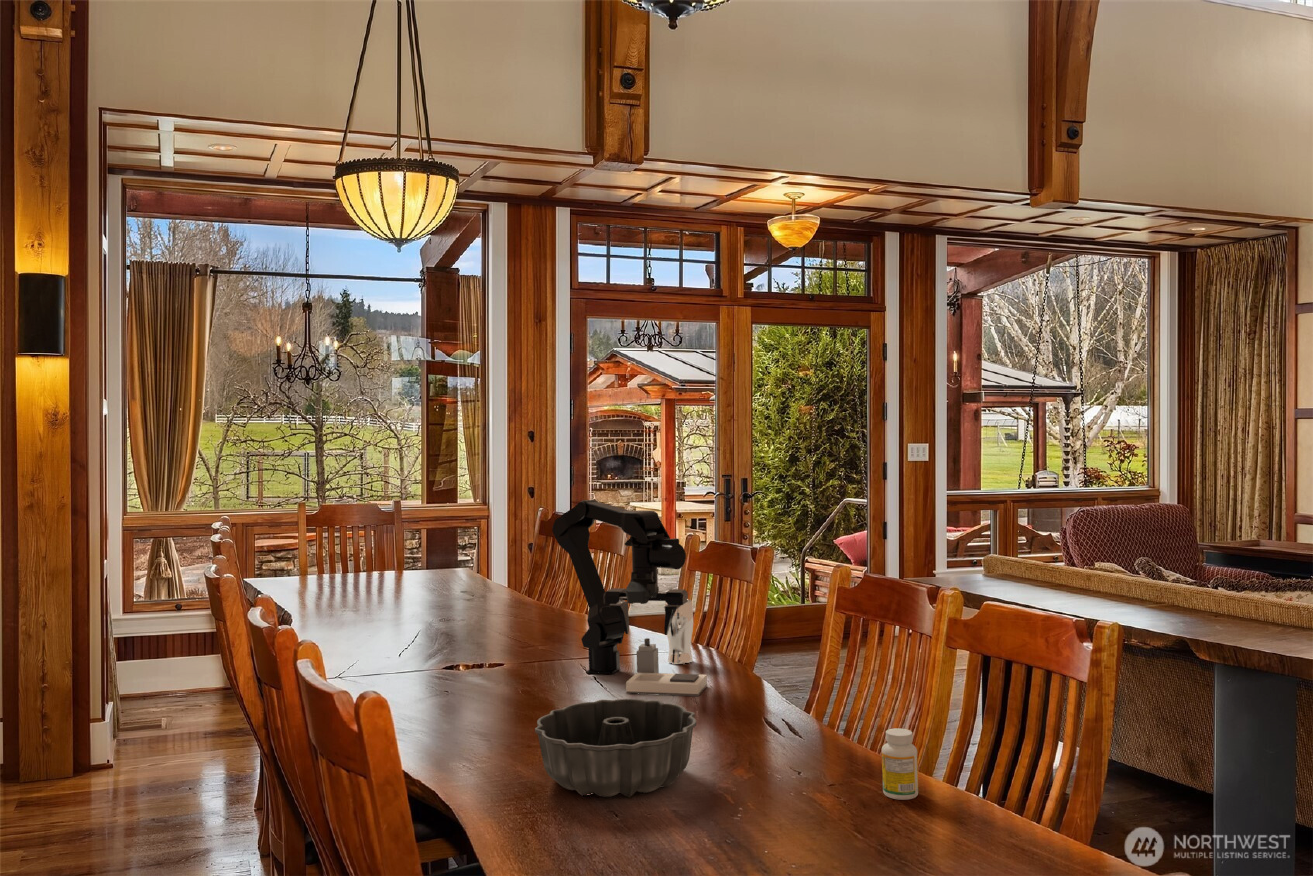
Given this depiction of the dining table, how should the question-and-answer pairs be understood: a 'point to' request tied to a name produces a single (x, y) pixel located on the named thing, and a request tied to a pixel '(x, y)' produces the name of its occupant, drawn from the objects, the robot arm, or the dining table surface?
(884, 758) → the supplement bottle
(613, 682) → the dining table surface
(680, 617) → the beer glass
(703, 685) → the beige flat block
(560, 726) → the bundt pan
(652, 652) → the plug
